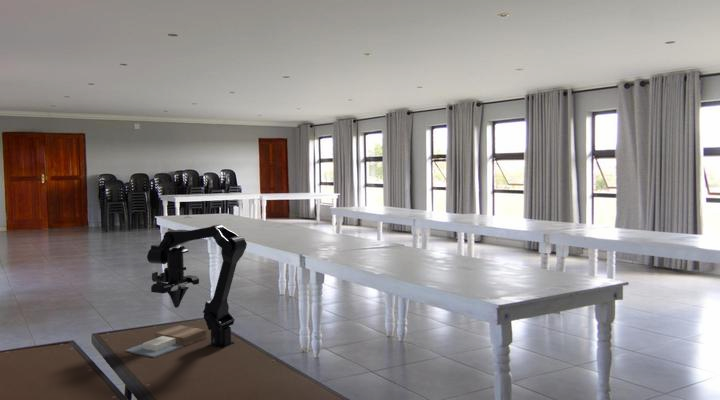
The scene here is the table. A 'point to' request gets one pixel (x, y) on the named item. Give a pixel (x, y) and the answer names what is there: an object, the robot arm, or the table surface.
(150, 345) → the cream rectangular block
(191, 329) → the deck
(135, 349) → the mat
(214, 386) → the table surface
